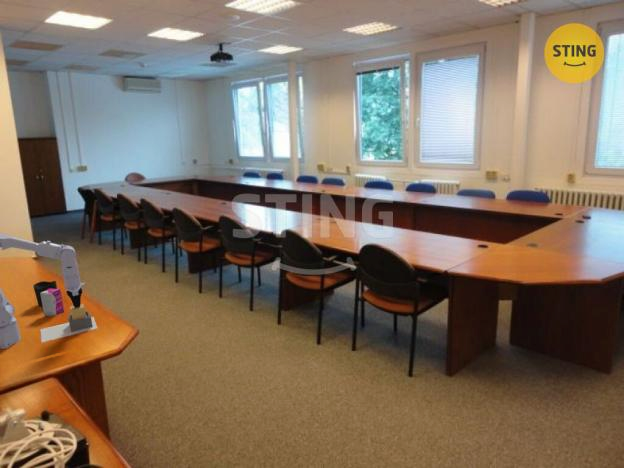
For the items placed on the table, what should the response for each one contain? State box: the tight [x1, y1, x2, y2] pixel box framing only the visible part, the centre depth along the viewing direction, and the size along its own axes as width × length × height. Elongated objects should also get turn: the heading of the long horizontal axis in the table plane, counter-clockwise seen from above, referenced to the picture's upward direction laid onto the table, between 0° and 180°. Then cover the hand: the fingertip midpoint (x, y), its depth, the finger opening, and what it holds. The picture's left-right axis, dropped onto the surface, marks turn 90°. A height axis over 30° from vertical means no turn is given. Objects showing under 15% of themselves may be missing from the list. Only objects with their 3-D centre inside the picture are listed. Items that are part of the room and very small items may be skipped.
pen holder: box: [32, 280, 58, 307], centre depth 211 cm, size 9×9×10 cm
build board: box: [40, 316, 98, 344], centre depth 182 cm, size 20×14×1 cm
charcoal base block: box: [67, 310, 93, 332], centre depth 183 cm, size 8×8×4 cm
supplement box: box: [40, 288, 65, 318], centre depth 198 cm, size 6×6×12 cm
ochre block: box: [69, 303, 86, 321], centre depth 182 cm, size 5×5×5 cm
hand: (77, 306), depth 182 cm, fingers closed
